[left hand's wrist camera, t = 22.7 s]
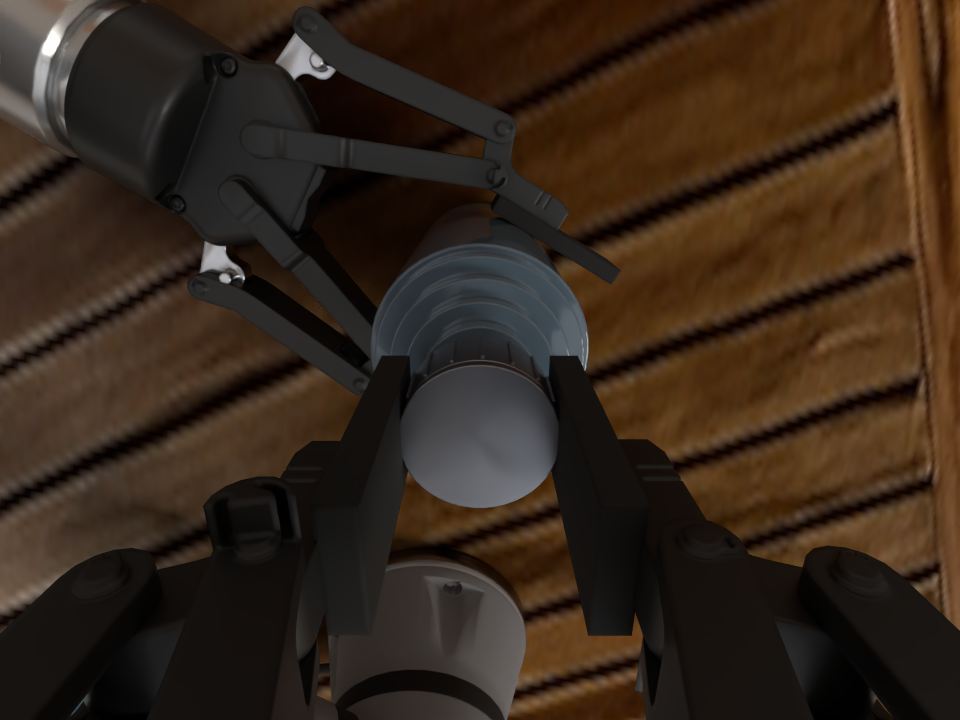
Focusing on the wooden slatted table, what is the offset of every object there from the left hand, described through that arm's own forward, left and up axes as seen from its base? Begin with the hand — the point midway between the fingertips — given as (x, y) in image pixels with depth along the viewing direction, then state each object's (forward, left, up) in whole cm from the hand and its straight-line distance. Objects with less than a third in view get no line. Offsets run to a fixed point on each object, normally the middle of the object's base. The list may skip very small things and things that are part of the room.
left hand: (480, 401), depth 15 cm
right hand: (+3, -4, -12) cm, 13 cm away
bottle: (0, 0, -19) cm, 19 cm away
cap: (0, 0, +2) cm, 2 cm away
